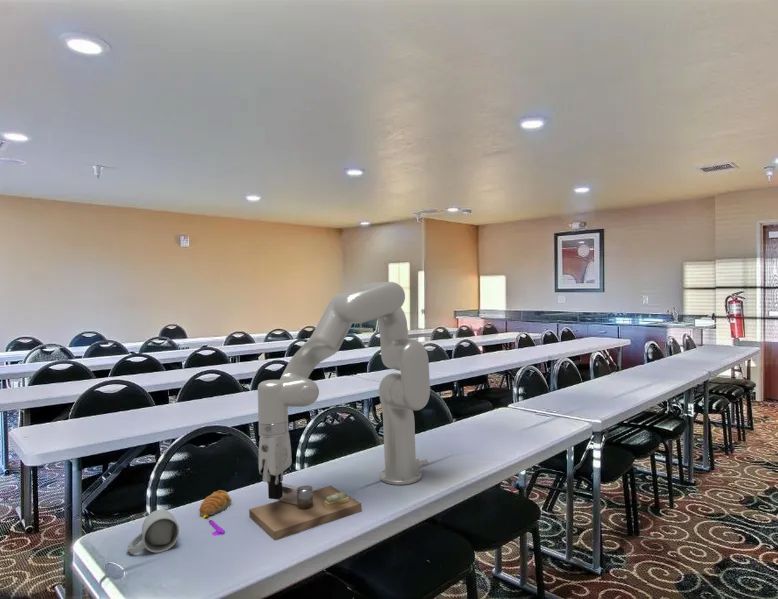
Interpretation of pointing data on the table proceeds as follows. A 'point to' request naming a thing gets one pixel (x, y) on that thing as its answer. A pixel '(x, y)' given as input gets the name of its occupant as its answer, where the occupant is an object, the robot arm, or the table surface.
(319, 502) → the brown wooden board
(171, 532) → the ceramic mug
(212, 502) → the pastry
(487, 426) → the table surface
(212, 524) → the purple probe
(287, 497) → the ball-ended lever
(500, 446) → the table surface
